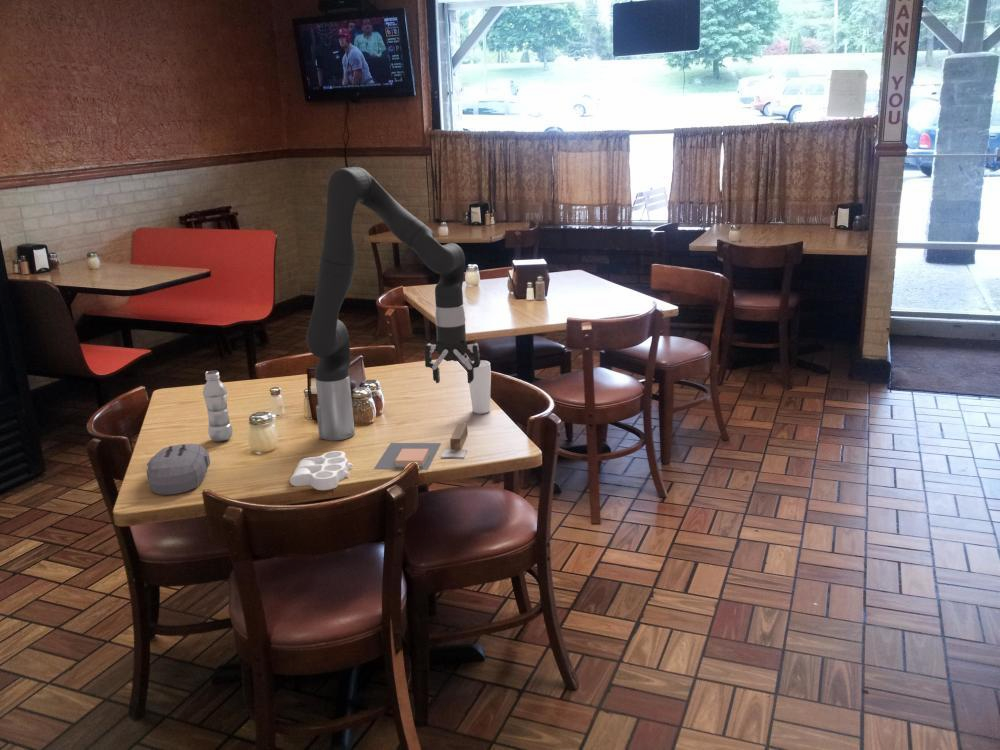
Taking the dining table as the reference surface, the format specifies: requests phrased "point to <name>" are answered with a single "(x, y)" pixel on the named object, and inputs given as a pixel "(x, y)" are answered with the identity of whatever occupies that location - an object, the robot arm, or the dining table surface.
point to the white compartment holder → (322, 471)
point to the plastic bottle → (217, 407)
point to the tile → (412, 457)
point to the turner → (457, 442)
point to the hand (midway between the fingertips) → (453, 382)
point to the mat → (395, 448)
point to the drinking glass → (481, 388)
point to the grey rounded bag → (177, 468)
